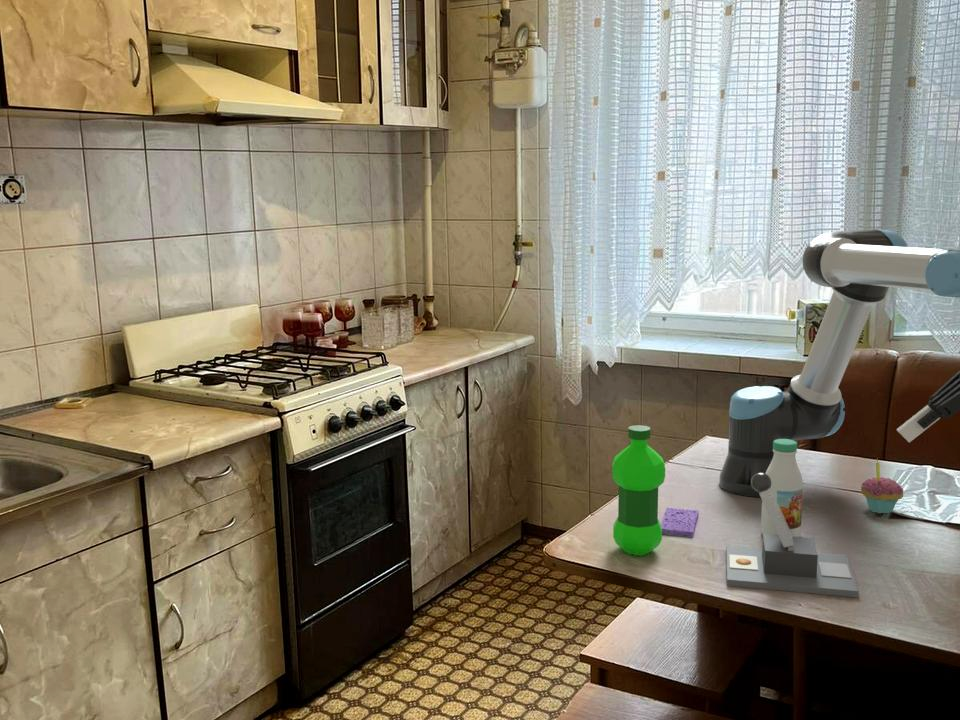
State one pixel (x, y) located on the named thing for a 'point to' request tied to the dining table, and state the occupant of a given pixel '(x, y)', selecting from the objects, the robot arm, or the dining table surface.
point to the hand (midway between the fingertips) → (902, 435)
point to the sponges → (679, 522)
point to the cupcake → (881, 493)
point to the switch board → (790, 580)
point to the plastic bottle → (638, 494)
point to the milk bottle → (785, 487)
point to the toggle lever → (772, 507)
